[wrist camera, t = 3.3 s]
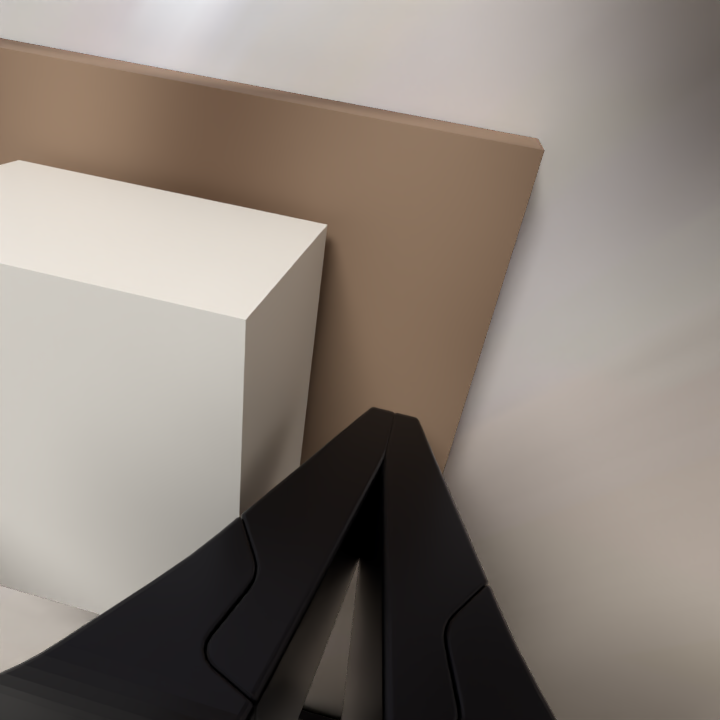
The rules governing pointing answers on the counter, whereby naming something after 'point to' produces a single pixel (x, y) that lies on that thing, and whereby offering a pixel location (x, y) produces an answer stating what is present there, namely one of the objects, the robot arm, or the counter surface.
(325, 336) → the base
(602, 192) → the counter surface
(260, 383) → the gauge carriage
